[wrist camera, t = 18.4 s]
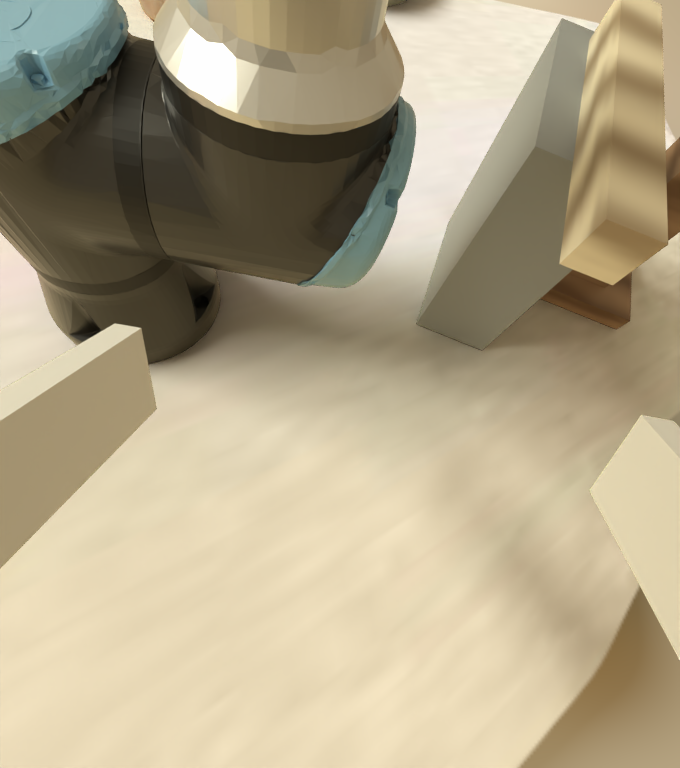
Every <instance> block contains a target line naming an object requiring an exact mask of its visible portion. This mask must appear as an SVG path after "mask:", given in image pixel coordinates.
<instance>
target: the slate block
mask: <svg viewBox="0 0 680 768" xmlns="http://www.w3.org/2000/svg"><path fill="white" fill-rule="evenodd" d="M593 34H594V31H592V30H589V29H587V28H584V27H582V26H580V25H577V24H575V23H572V22H570V21H568V20H565V19H563V18H562V19H561V21H560V23H559V25H558V26H557V28H556V30H555V32H554V34H553V35H552V37H551V39H550V41H549V43H548V44H547V46H546V48H545V50H544V52H543V53H542V55H541V57H540V59H539V61H538V62H537V64H536V66H535V68H534V70H533V71H532V73H531V75H530V77H529V79H528V80H527V82H526V84H525V86H524V88H523V89H522V91H521V93H520V95H519V97H518V98H517V100H516V102H515V104H514V106H513V107H512V109H511V111H510V113H509V115H508V116H507V118H506V120H505V122H504V124H503V125H502V127H501V129H500V131H499V133H498V134H497V136H496V138H495V140H494V142H493V143H492V145H491V147H490V149H489V151H488V152H487V154H486V156H485V158H484V160H483V161H482V163H481V165H480V167H479V169H478V170H477V172H476V174H475V176H474V178H473V179H472V181H471V183H470V185H469V187H468V188H467V190H466V192H465V194H464V196H463V197H462V199H461V201H460V203H459V205H458V206H457V208H456V210H455V212H454V214H453V215H452V217H451V219H450V221H449V223H448V226H447V229H446V233H445V236H444V239H443V242H442V245H441V248H440V251H439V254H438V258H437V261H436V264H435V267H434V270H433V273H432V276H431V279H430V282H429V286H428V289H427V292H426V295H425V298H424V301H423V304H422V307H421V310H420V314H419V317H418V320H417V323H416V324H417V325H420V326H422V327H425V328H427V329H430V330H432V331H435V332H437V333H440V334H442V335H445V336H447V337H450V338H452V339H455V340H457V341H460V342H462V343H465V344H467V345H470V346H472V347H475V348H477V349H480V350H483V349H484V348H485V347H486V346H488V345H489V344H490V343H491V342H492V341H493V340H494V339H495V338H497V337H498V336H499V335H500V334H501V333H502V332H503V331H504V330H506V329H507V328H508V327H509V326H510V325H511V324H512V323H513V322H515V321H516V320H517V319H518V318H519V317H520V316H521V315H522V314H523V313H525V312H526V311H527V310H528V309H529V308H530V307H531V306H532V305H534V304H535V303H536V302H537V301H538V300H539V299H540V298H541V297H543V296H544V295H545V294H546V293H547V292H548V291H549V290H550V289H552V288H553V287H554V286H555V285H556V284H557V283H558V282H559V281H561V280H562V279H563V278H564V277H565V276H566V275H567V274H568V273H570V272H571V271H572V270H573V269H571V268H568V267H566V266H563V265H561V264H559V263H560V255H561V248H562V240H563V233H564V225H565V218H566V211H567V203H568V196H569V188H570V181H571V173H572V166H573V159H574V151H575V144H576V136H577V129H578V121H579V114H580V107H581V99H582V92H583V84H584V77H585V69H586V62H587V55H588V47H589V40H590V38H591V37H592V35H593Z"/></svg>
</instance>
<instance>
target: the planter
mask: <svg viewBox="0 0 680 768" xmlns="http://www.w3.org/2000/svg"><path fill="white" fill-rule="evenodd" d="M139 1H140V4H141V7H142V9H143V11H144V12H145V13H146V14H147V15H148V16H149V17H150V18H151V19H153V20H154V21H155V18H156V15H157V13H158V12H159V10H160V9H161V7H162V6H163V4H164V3H165V1H166V0H139Z"/></svg>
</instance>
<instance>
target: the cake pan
mask: <svg viewBox="0 0 680 768" xmlns="http://www.w3.org/2000/svg"><path fill="white" fill-rule="evenodd" d="M405 1H407V0H388V5H387V6H392V5H397V4H400V3H403V2H405Z"/></svg>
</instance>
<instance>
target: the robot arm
mask: <svg viewBox="0 0 680 768" xmlns="http://www.w3.org/2000/svg"><path fill="white" fill-rule="evenodd" d="M387 5H388V0H166V1H165V3H164V4H163V6H162V7H161V9H160V10H159V12H158V13H157V15H156V18H155V21H154V24H153V38H154V41H151V40H147V39H142V38H139V37H135V36H132V35H131V34H130V33H129V32H128V31H127V29H128V27H129V25H128V21H127V16H126V13H125V11H124V10H123V7H122V6H120V5H119V3H118V1H117V0H0V232H1V233H2V235H3V236H4V237H5V238H6V239H7V240H8V241H9V242H10V243H11V244H12V245H13V246H14V247H15V248H16V250H17V251H18V252H19V253H20V254H21V255H22V256H23V257H24V258H25V259H26V260H27V261H28V262H29V263H30V264H31V266H32V267H33V268H34V269H35V270H36V271H37V275H38V278H39V281H40V284H41V287H42V291H43V294H44V297H45V300H46V304H47V307H48V310H49V312H50V314H51V316H52V318H53V320H54V321H55V323H56V324H57V326H58V327H59V328H60V329H61V331H62V332H63V333H64V334H65V335H66V336H67V337H69V338H70V339H71V340H72V341H73V342H74V343H75V344H76V345H77V346H75V347H74V348H72V349H70V350H69V351H67V352H65V353H63V354H62V355H60V356H58V357H57V358H55V359H53V360H51V361H50V362H48V363H46V364H45V365H43V366H41V367H39V368H38V369H36V370H34V371H33V372H31V373H29V374H27V375H26V376H24V377H22V378H21V379H19V380H17V381H15V382H14V383H12V384H10V385H9V386H7V387H5V388H3V389H2V390H0V568H1V567H2V566H3V565H4V564H5V563H6V562H7V561H8V560H9V559H10V558H11V557H12V556H13V555H14V554H15V553H16V552H17V551H18V550H19V549H20V548H21V547H22V546H23V545H24V544H25V543H26V542H27V541H28V540H29V539H30V538H31V537H32V536H33V535H34V534H35V533H36V532H37V531H38V530H39V528H40V527H41V526H42V525H43V524H44V523H45V522H46V521H47V520H48V519H49V518H50V517H51V516H52V515H53V514H54V513H55V512H56V511H57V510H58V509H59V508H60V507H61V506H62V505H63V504H64V503H65V502H66V501H67V500H68V499H69V498H70V497H71V496H72V495H73V494H74V493H75V492H76V491H77V490H78V489H79V488H80V487H81V486H82V485H83V484H84V483H85V482H86V481H87V480H88V479H89V477H90V476H91V475H92V474H93V473H94V472H95V471H96V470H97V469H98V468H99V467H100V466H101V465H102V464H103V463H104V462H105V461H106V460H107V459H108V458H109V457H110V456H111V455H112V454H113V453H114V452H115V451H116V450H117V449H118V448H119V447H120V446H121V445H122V444H123V443H124V442H125V441H126V440H127V439H128V438H129V437H130V436H131V435H132V434H133V433H134V432H135V431H136V430H137V429H138V427H139V426H140V425H141V424H142V423H143V422H144V421H145V420H146V419H147V418H148V417H149V416H150V415H151V414H152V413H153V412H154V411H155V410H156V409H157V408H156V402H155V397H154V392H153V387H152V381H151V376H150V371H149V366H148V363H152V362H157V361H161V360H164V359H167V358H170V357H173V356H175V355H177V354H179V353H181V352H183V351H185V350H186V349H188V348H189V347H191V346H192V345H194V344H195V343H196V342H197V341H198V340H200V339H201V338H202V337H203V336H204V334H205V333H206V332H207V331H208V330H209V328H210V327H211V325H212V324H213V322H214V320H215V318H216V315H217V313H218V309H219V305H220V287H219V282H218V278H217V274H216V270H215V269H219V270H225V271H230V272H235V273H240V274H246V275H251V276H256V277H261V278H267V279H272V280H277V281H282V282H288V283H293V284H297V285H298V286H310V285H317V286H326V287H335V288H344V287H348V286H351V285H353V284H355V283H357V282H358V281H359V280H361V279H362V278H363V277H364V276H365V275H366V274H367V272H368V271H369V270H370V269H371V267H372V266H373V264H374V263H375V261H376V259H377V257H378V256H379V254H380V252H381V250H382V248H383V246H384V244H385V241H386V239H387V237H388V235H389V233H390V230H391V228H392V225H393V223H394V220H395V217H396V214H397V203H398V199H399V198H400V196H401V194H402V192H403V190H404V188H405V185H406V182H407V179H408V175H409V171H410V167H411V163H412V158H413V152H414V146H415V137H416V118H415V113H414V111H413V109H412V107H411V105H410V104H409V103H407V102H405V101H404V100H403V98H402V97H401V96H400V92H401V89H402V84H403V79H404V66H403V61H402V57H401V55H400V53H399V51H398V48H397V46H396V44H395V42H394V40H393V38H392V36H391V33H390V31H389V29H388V27H387V25H386V23H385V15H386V10H387ZM589 492H590V493H591V495H592V497H593V499H594V501H595V503H596V505H597V507H598V508H599V510H600V512H601V514H602V516H603V518H604V520H605V522H606V523H607V525H608V527H609V529H610V531H611V533H612V535H613V537H614V538H615V540H616V542H617V544H618V546H619V548H620V550H621V551H622V553H623V555H624V557H625V559H626V561H627V563H628V565H629V566H630V568H631V570H632V572H633V574H634V576H635V578H636V580H637V581H638V583H639V585H640V587H641V589H642V591H643V592H644V595H645V596H646V598H647V600H648V602H649V604H650V606H651V607H652V610H653V611H654V613H655V615H656V617H657V619H658V620H659V622H660V624H661V626H662V628H663V630H664V632H665V634H666V636H667V638H668V639H669V641H670V643H671V645H672V647H673V649H674V651H675V653H676V654H677V656H678V658H679V660H680V427H679V426H678V425H677V424H676V423H675V422H674V421H673V420H668V419H662V418H656V417H650V416H645V415H641V416H640V417H639V419H638V420H637V422H636V423H635V425H634V426H633V427H632V429H631V430H630V432H629V433H628V435H627V436H626V438H625V439H624V441H623V442H622V443H621V445H620V446H619V448H618V449H617V451H616V452H615V454H614V455H613V457H612V458H611V460H610V461H609V462H608V464H607V465H606V467H605V468H604V470H603V471H602V473H601V474H600V476H599V477H598V479H597V480H596V481H595V483H594V484H593V486H592V487H591V489H590V490H589Z"/></svg>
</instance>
